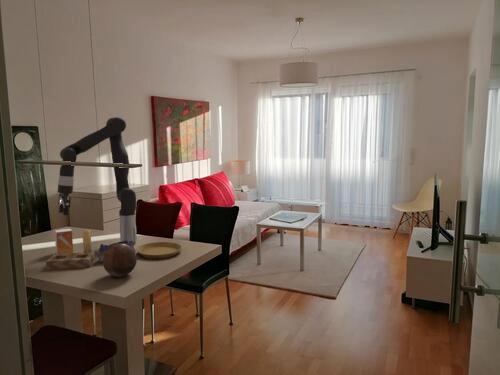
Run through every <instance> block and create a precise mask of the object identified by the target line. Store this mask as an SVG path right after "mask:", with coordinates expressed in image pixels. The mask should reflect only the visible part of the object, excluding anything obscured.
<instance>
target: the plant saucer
mask: <svg viewBox="0 0 500 375" xmlns="http://www.w3.org/2000/svg"><path fill="white" fill-rule="evenodd" d="M181 250H182V245H180V244H179V243H176V242H172V241H159V242H158V241H157V242H156V241H155V242H149V243H145V244H142V245H140V246H138V247H137V249H136V251H137V253H138V254H139V255H140V256H141V257H144V258H147V259H152V258H155V259H156V260H157V258H159V259H167V258H171V257H173V256H176V255H177V254H179V252H180V251H181ZM166 257H167V258H166Z"/></svg>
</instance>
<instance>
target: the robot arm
mask: <svg viewBox="0 0 500 375" xmlns="http://www.w3.org/2000/svg"><path fill="white" fill-rule="evenodd" d="M126 128H127V123H126V121H125V119H123V118H121V117H110V118H109V119H107V121H106V125H105V126H103V127H102V128H100V129H98V130H96V131H94V132H92V133H89V134H87V135H85V136H83V137H82V138H79V140H77V141H75V142H73V143H72V144H70V145H67V146H65V147H63V148H62V149H61V150H60V153H59V157H60V158H61V159H62V161H71V162H76V163H77V157H78V155H80V154H82V153H84V154H85V152H88V151H90V150H92V148H93V147H96V146H98V145H99V144H100V143H102V142H104V141H106V140H107V139H108V140H109V144H110V152H111V162H112V164H113V163H123V164H129V165H130V160H129V155H128V151H127V149H126V147H125V145H124V142H123V138H122V137H123V136H122V133H123V132H124V131H125V130H126ZM75 166H76V165H75ZM75 166H71V165H62V164H61V165H60V167H59V176H58V182H57V193H58V203H57V204H58V206H59V207H58V209H59V210H58V213H60V214H62V215H64V216H68V214H69V209H70V207H71V200H72V197H71V196H69V195H71V194H73V190H74V181H75V180H74V174H75ZM129 172H130V167H129V168H119V167H113V173H114V178H115V187H116V188H115V189H116V190H115V191H116V194H115V195H116V198H117V200H118V201H119V202H120V209H119V212H118V216H119V218H118V219H119V234H120V236H119V238H120V240H119V242H121V241H126V240H127V241H128V242H129V241H134V243H135V244H136V243H137V240H138V236H137V225H136V224H137V223H136V210H137V195H136V192H135V190H133V189H131V188H130V186H129V185H130V184H129Z"/></svg>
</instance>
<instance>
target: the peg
mask: <svg viewBox="0 0 500 375" xmlns="http://www.w3.org/2000/svg"><path fill="white" fill-rule="evenodd" d="M82 245H83V248H82V249H83V253H89V252H93V251H92V234H91V229H86V230H82Z"/></svg>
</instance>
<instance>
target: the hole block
mask: <svg viewBox="0 0 500 375" xmlns="http://www.w3.org/2000/svg"><path fill="white" fill-rule="evenodd" d="M95 254H96V253H95V252H94V251H92V252H89V253H84V252H73V253H69V254H57V253H53V255H51V256H50V257H49V258H48V259H47V260H46V261H45V264H46V265H45V266H46V270H62V269H80V268H81V269H82V268H90V267H91V266H92V264H93V263H94V261H95V259H96V258H95Z"/></svg>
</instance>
